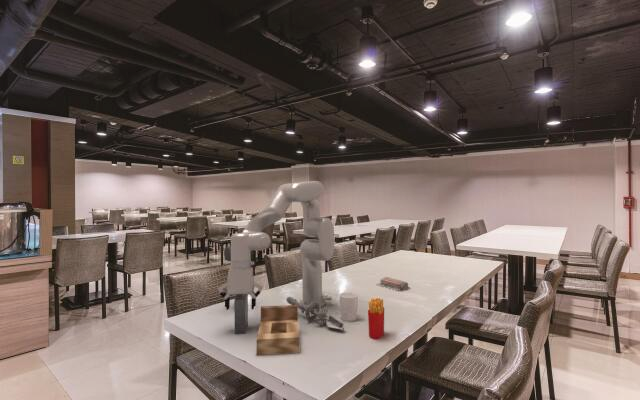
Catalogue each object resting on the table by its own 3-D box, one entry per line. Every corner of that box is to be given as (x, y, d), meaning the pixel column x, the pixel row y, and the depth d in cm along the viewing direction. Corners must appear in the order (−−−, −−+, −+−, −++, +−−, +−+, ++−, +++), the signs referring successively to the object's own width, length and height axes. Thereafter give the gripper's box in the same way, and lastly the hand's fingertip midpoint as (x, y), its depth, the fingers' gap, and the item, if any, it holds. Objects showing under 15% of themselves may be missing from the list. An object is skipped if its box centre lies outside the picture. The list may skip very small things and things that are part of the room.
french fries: (376, 340, 112) (376, 304, 112) (365, 338, 114) (365, 302, 114) (387, 332, 119) (386, 297, 119) (376, 329, 122) (376, 295, 122)
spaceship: (295, 291, 148) (283, 288, 142) (352, 318, 123) (340, 315, 117) (289, 308, 146) (277, 305, 141) (346, 338, 121) (333, 336, 116)
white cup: (346, 323, 128) (345, 298, 129) (336, 317, 135) (335, 293, 136) (361, 319, 132) (361, 295, 132) (351, 314, 139) (351, 291, 139)
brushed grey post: (248, 325, 128) (247, 293, 128) (245, 333, 120) (245, 299, 120) (238, 326, 127) (237, 293, 127) (234, 334, 119) (234, 299, 119)
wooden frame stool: (298, 330, 122) (297, 304, 122) (299, 352, 104) (299, 322, 104) (261, 332, 120) (261, 306, 120) (256, 355, 102) (256, 324, 102)
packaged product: (411, 281, 177) (398, 284, 172) (411, 290, 177) (398, 292, 172) (388, 275, 193) (376, 277, 188) (388, 283, 193) (376, 285, 188)
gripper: (263, 262, 128) (263, 304, 128) (220, 263, 126) (219, 306, 126) (262, 266, 121) (261, 310, 120) (215, 266, 119) (215, 312, 119)
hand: (240, 308), depth 123 cm, fingers open, 9 cm apart
